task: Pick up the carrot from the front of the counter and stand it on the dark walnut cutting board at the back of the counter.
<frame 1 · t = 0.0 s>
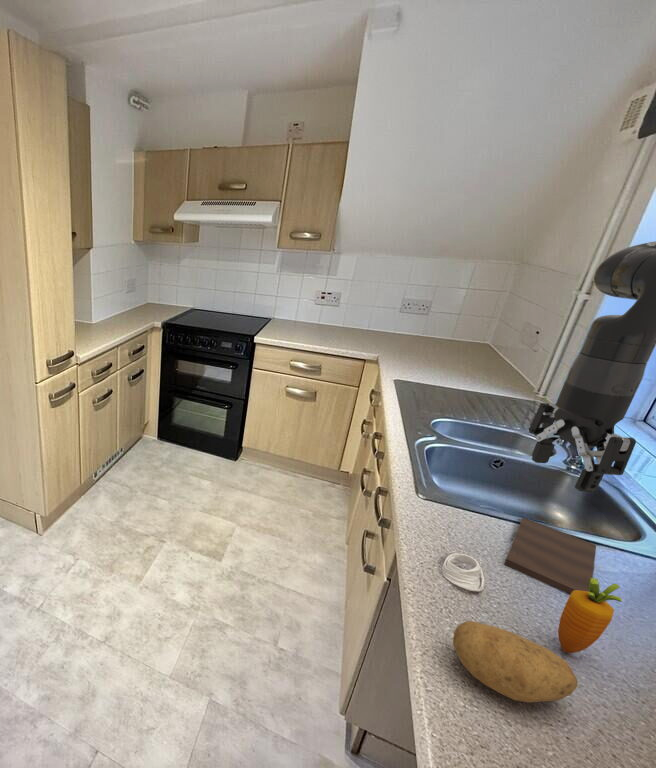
hand: (559, 475, 69), 25 cm above the counter, tool pointing down, fingers open, 8 cm apart
carrot: (564, 652, 66), on the counter
white string coil: (461, 579, 80), on the counter
potato: (500, 682, 62), on the counter
cutting board: (549, 557, 86), on the counter
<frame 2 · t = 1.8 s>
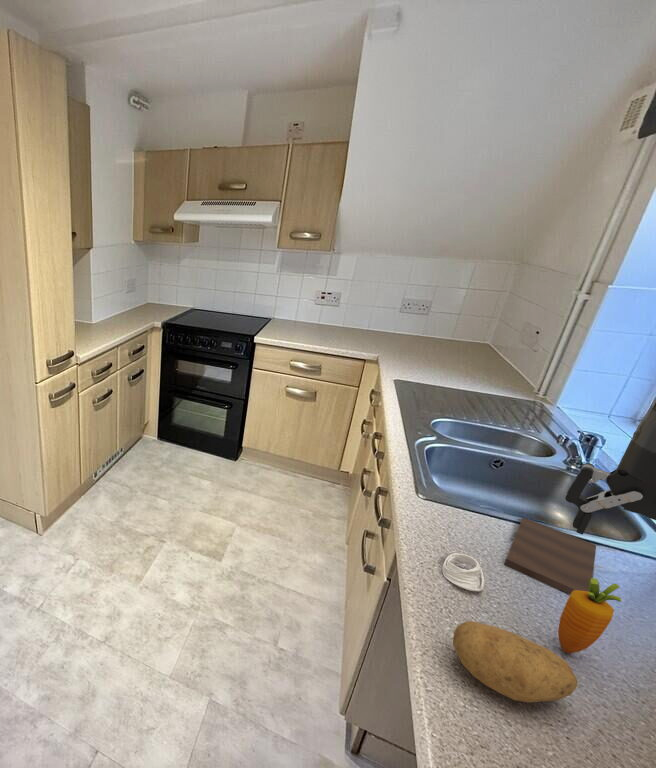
hand: (621, 547, 59), 21 cm above the counter, tool pointing down, fingers open, 8 cm apart
nothing on the counter moved.
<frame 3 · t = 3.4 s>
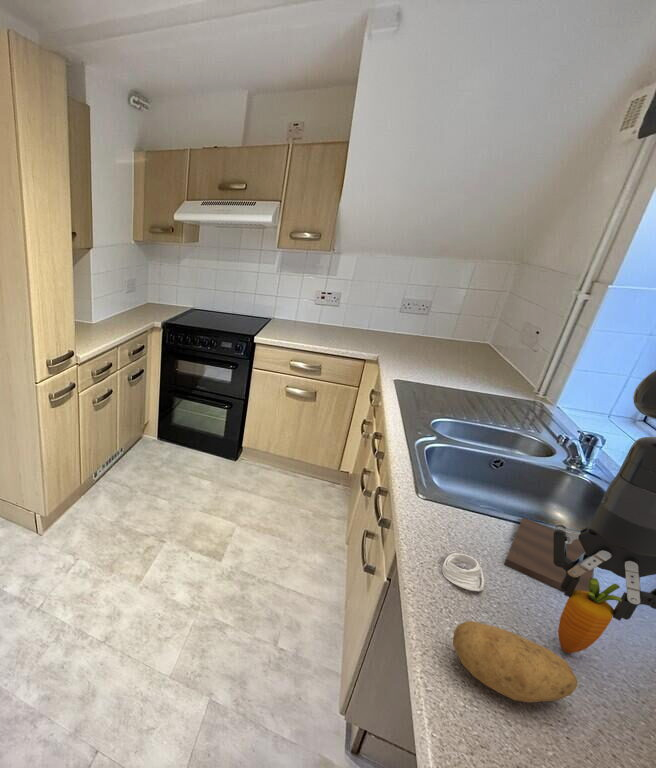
hand: (591, 604, 62), 10 cm above the counter, tool pointing down, fingers closed on carrot, 4 cm apart
carrot: (564, 652, 66), on the counter, touching gripper
everything else where it was.
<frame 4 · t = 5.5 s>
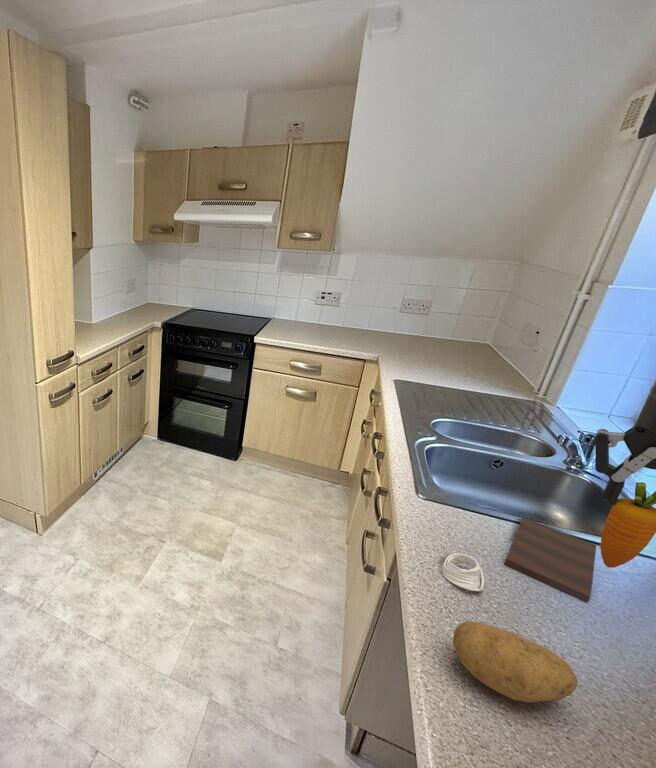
hand: (637, 510, 59), 26 cm above the counter, tool pointing down, fingers closed on carrot, 4 cm apart
carrot: (607, 567, 62), point 16 cm above the counter, touching gripper
everything else where it was.
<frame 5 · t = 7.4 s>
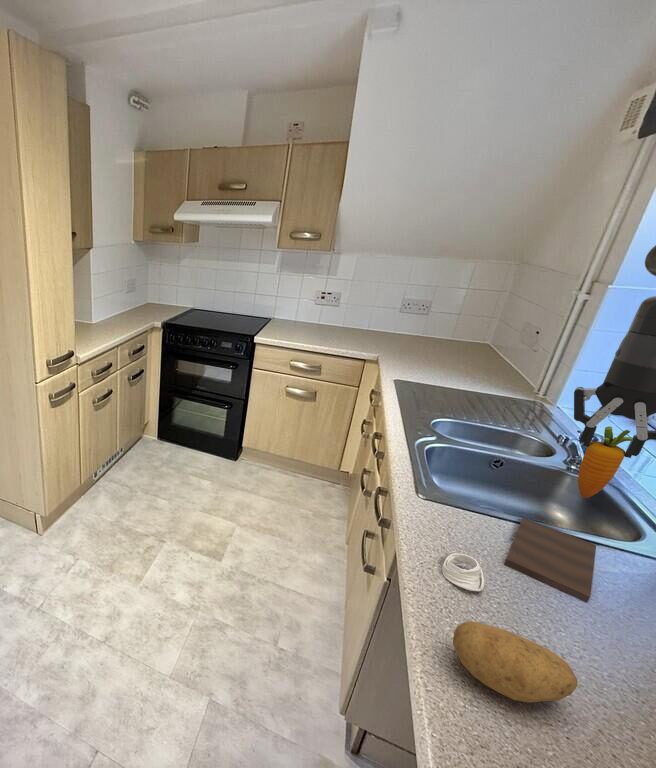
hand: (606, 449, 75), 26 cm above the counter, tool pointing down, fingers closed on carrot, 4 cm apart
carrot: (583, 498, 78), point 16 cm above the counter, touching gripper
everything else where it was.
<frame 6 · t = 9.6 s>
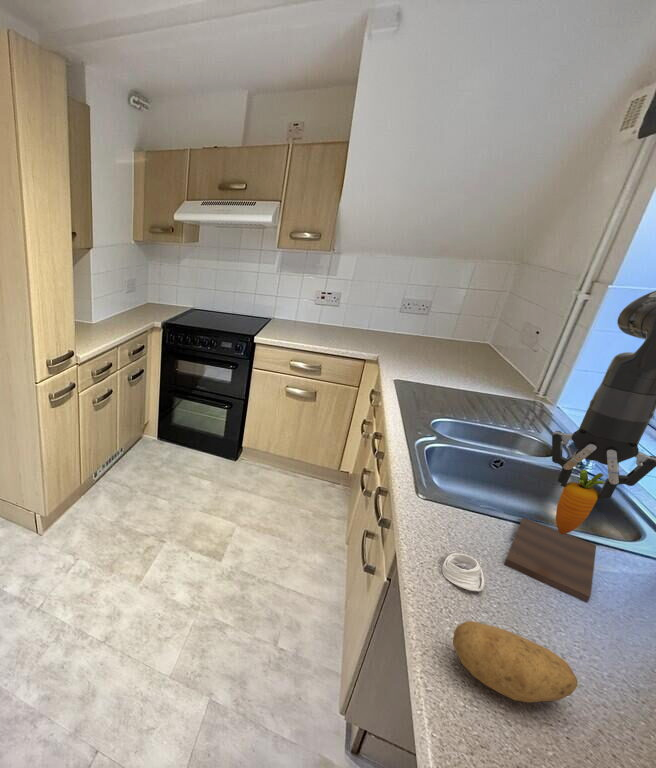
hand: (581, 490, 80), 16 cm above the counter, tool pointing down, fingers closed on carrot, 4 cm apart
carrot: (560, 534, 84), point 6 cm above the counter, touching gripper
everything else where it was.
when the fingers open (12 cm above the counter, at t = 11.3 s): carrot stays where it is, resting on cutting board.
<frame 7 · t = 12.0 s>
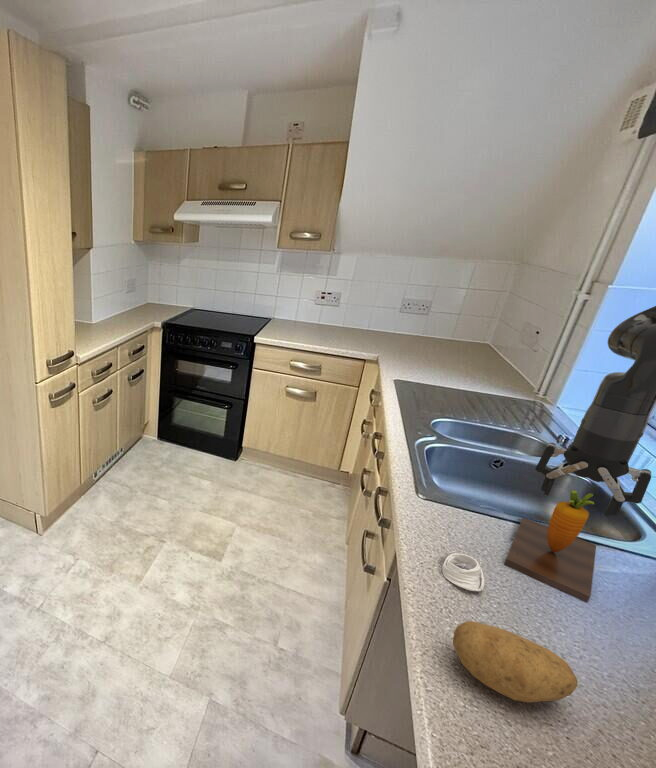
hand: (575, 503, 81), 14 cm above the counter, tool pointing down, fingers open, 8 cm apart
carrot: (552, 552, 85), point 1 cm above the counter, touching cutting board
everything else where it was.
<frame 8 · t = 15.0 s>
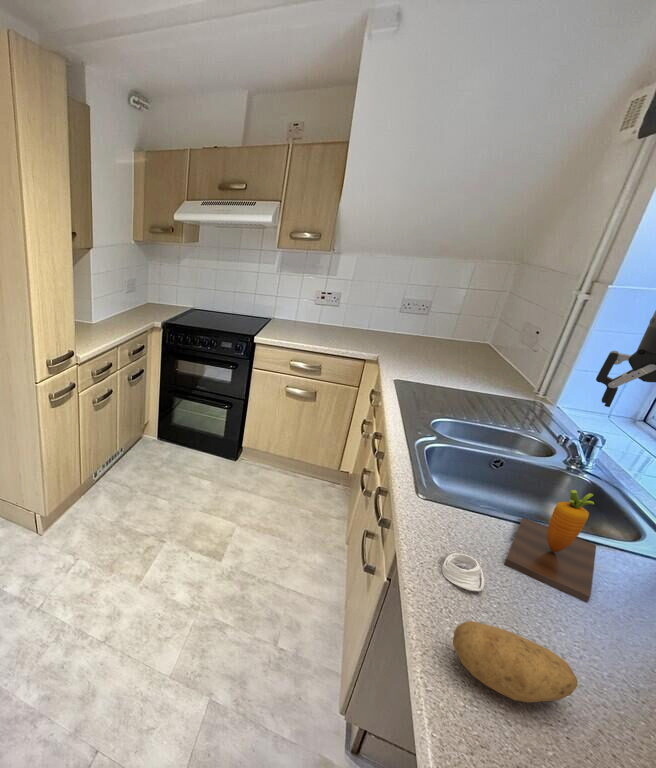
hand: (640, 413, 77), 32 cm above the counter, tool pointing down, fingers open, 8 cm apart
nothing on the counter moved.
at the end: carrot inside the target area on the cutting board (0.1 cm from its centre), point 1.3 cm above the cutting board's base; carrot tilted 0°; the gripper is holding nothing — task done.
